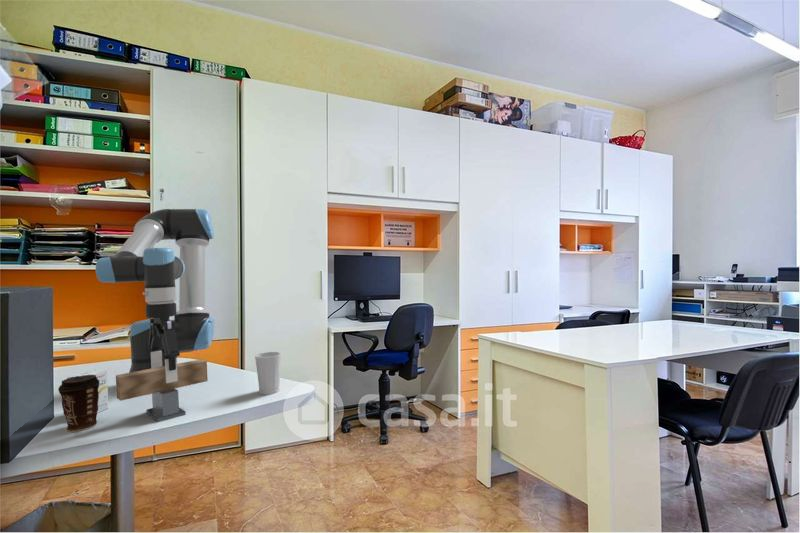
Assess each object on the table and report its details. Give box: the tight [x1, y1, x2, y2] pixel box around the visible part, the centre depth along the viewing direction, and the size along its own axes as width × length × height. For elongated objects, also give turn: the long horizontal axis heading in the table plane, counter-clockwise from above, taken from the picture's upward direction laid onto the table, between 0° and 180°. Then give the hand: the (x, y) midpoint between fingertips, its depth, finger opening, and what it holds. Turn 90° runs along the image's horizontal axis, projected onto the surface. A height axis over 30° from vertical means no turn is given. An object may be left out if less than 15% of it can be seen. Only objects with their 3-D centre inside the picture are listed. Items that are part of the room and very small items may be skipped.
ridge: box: [145, 388, 187, 423], centre depth 116 cm, size 11×7×7 cm, turn 45°
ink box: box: [66, 369, 109, 414], centre depth 118 cm, size 9×5×12 cm, turn 168°
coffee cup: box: [58, 375, 99, 433], centre depth 108 cm, size 9×8×13 cm
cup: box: [254, 351, 282, 395], centre depth 133 cm, size 8×8×12 cm
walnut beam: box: [115, 359, 209, 402], centre depth 116 cm, size 22×4×6 cm, turn 135°
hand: (164, 377), depth 116 cm, fingers open, 13 cm apart
